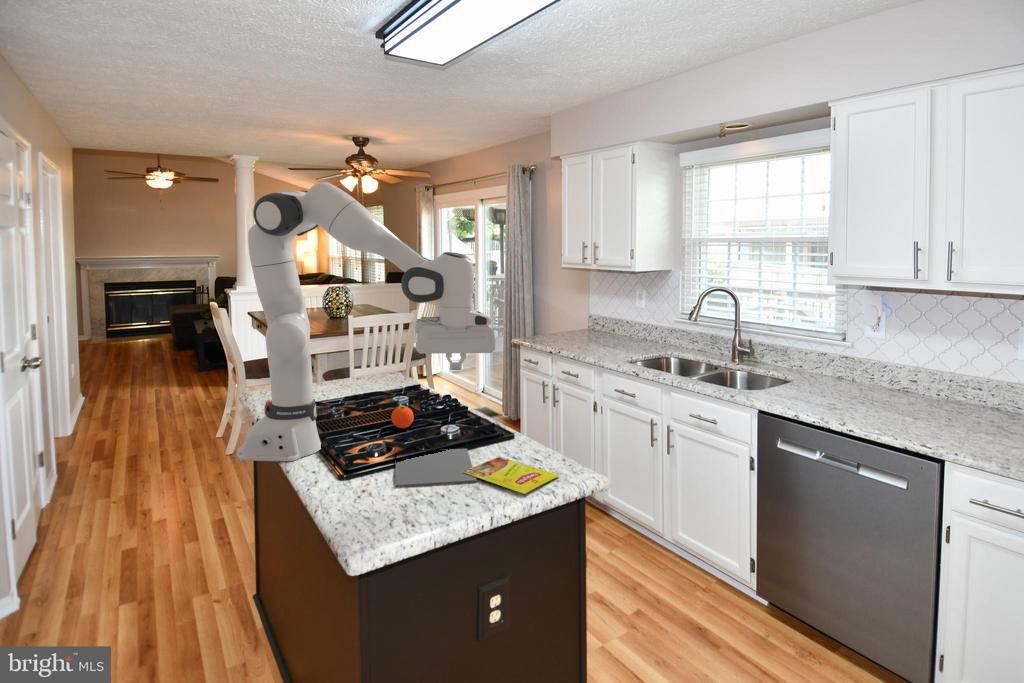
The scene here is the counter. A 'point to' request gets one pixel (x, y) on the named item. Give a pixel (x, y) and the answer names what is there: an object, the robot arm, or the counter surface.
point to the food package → (511, 474)
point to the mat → (435, 469)
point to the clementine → (402, 417)
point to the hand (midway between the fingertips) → (455, 369)
